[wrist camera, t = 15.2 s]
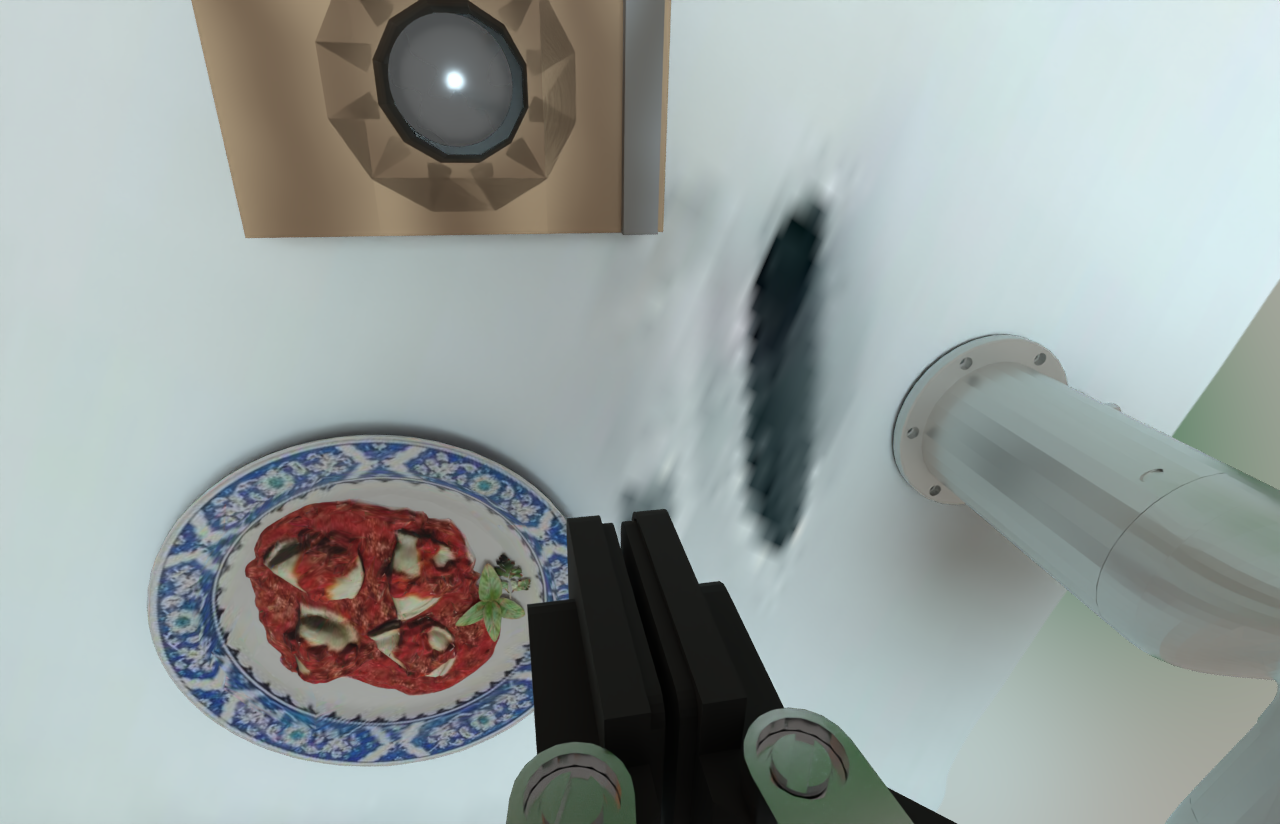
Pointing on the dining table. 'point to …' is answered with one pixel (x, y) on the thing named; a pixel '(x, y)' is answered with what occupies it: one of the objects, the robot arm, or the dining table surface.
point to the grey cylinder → (450, 79)
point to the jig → (413, 169)
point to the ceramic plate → (359, 599)
